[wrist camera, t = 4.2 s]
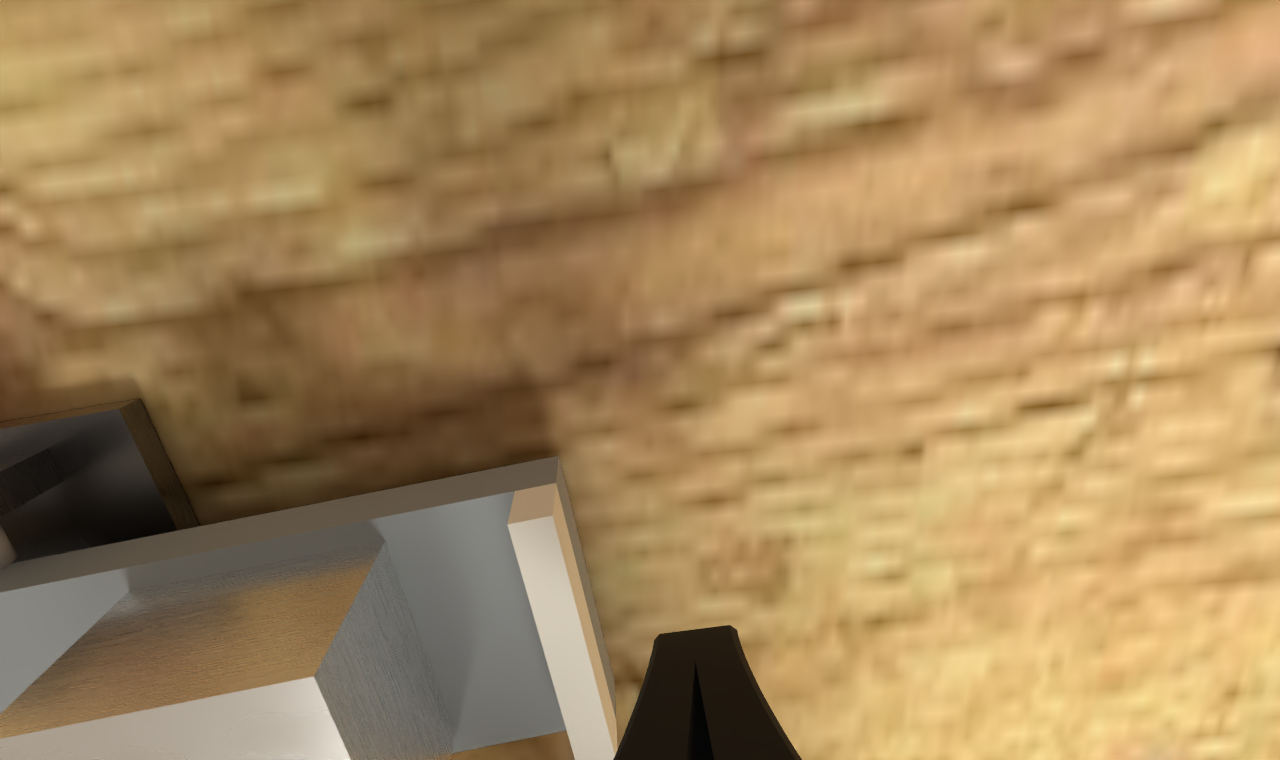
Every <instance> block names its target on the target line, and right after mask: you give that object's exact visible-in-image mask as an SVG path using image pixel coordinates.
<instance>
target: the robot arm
mask: <svg viewBox="0 0 1280 760" xmlns="http://www.w3.org/2000/svg"><path fill="white" fill-rule="evenodd" d="M613 760H802V759H801V758H800V756H799V755H798V753H797V752H796V750H795V749H794V747H793V745H792V744H791V742H790V741H789V739H788V737H787V736H786V734H785V732H784V731H783V729H782V727H781V726H780V724H779V722H778V720H777V719H776V717H775V715H774V713H773V712H772V710H771V708H770V706H769V705H768V703H767V701H766V699H765V697H764V695H763V694H762V692H761V690H760V688H759V686H758V684H757V682H756V680H755V677H754V675H753V673H752V671H751V669H750V667H749V664H748V662H747V660H746V657H745V655H744V652H743V650H742V647H741V644H740V640H739V637H738V632H737V630H736V629H735V628H733V627H732V626H730V625H727V626H719V627H711V628H703V629H695V630H688V631H680V632H672V633H664V634H660V635H659V636H658V637H657V638H656V639H655V640H654V645H653V650H652V654H651V658H650V662H649V666H648V669H647V672H646V676H645V679H644V682H643V685H642V688H641V691H640V694H639V697H638V700H637V702H636V705H635V708H634V710H633V713H632V715H631V718H630V721H629V723H628V726H627V728H626V731H625V734H624V736H623V739H622V741H621V743H620V746H619V748H618V750H617V752H616V755H615V757H614V759H613Z"/></svg>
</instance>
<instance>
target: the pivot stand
mask: <svg viewBox="0 0 1280 760" xmlns="http://www.w3.org/2000/svg"><path fill="white" fill-rule="evenodd" d="M0 525H1V527H2V529H3V530H4V532H5V534H6V536H7V537H8V539H9V541H10V542H11V544H12V546H13V547H14V549H15V551H16V553H17V554H18V557H17V559H16V560H15V561H14V562H12V563H16V562H21V561H26V560H31V559H36V558H41V557H46V556H52V555H57V554H62V553H67V552H72V551H77V550H82V549H87V548H92V547H97V546H102V545H107V544H113V543H118V542H123V541H128V540H133V539H138V538H143V537H148V536H153V535H158V534H163V533H168V532H173V531H179V530H184V529H189V528H194V527H199V526H200V525H199V523H198V521H197V519H196V517H195V515H194V512H193V510H192V508H191V506H190V504H189V502H188V500H187V498H186V495H185V493H184V491H183V489H182V487H181V485H180V483H179V481H178V478H177V476H176V474H175V472H174V470H173V468H172V466H171V464H170V461H169V459H168V457H167V455H166V453H165V451H164V449H163V446H162V444H161V442H160V440H159V438H158V436H157V434H156V432H155V429H154V427H153V425H152V423H151V421H150V419H149V417H148V415H147V412H146V410H145V408H144V406H143V404H142V402H141V400H140V398H139V399H133V400H127V401H122V402H116V403H110V404H104V405H98V406H92V407H87V408H81V409H75V410H69V411H63V412H57V413H51V414H46V415H40V416H34V417H28V418H22V419H16V420H10V421H5V422H0Z"/></svg>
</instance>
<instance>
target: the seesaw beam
mask: <svg viewBox="0 0 1280 760" xmlns="http://www.w3.org/2000/svg"><path fill="white" fill-rule="evenodd" d="M380 541H386V544H387V546H388V549H389V552H390V555H391V557H392V560H393V563H394V566H395V568H396V571H397V574H398V577H399V579H400V582H401V585H402V588H403V590H404V593H405V596H406V599H407V601H408V604H409V607H410V610H411V612H412V615H413V618H414V621H415V623H416V626H417V629H418V632H419V634H420V637H421V640H422V643H423V645H424V648H425V651H426V654H427V656H428V659H429V662H430V665H431V667H432V670H433V673H434V676H435V678H436V681H437V684H438V687H439V689H440V692H441V695H442V698H443V700H444V703H445V706H446V709H447V711H448V714H449V717H450V720H451V722H452V725H453V728H454V731H455V733H456V736H455V741H454V745H453V750H452V753H457V752H462V751H467V750H472V749H477V748H482V747H487V746H492V745H497V744H502V743H507V742H512V741H517V740H522V739H527V738H532V737H537V736H542V735H547V734H552V733H557V732H562V731H567V734H568V737H569V740H570V744H571V747H572V751H573V754H574V758H575V760H613V759H614V757H615V755H616V752H617V750H618V749H617V727H616V705H615V683H614V676H613V672H612V668H611V664H610V660H609V656H608V652H607V648H606V644H605V640H604V636H603V632H602V628H601V624H600V620H599V616H598V612H597V608H596V604H595V600H594V596H593V592H592V588H591V583H590V579H589V575H588V571H587V567H586V563H585V559H584V555H583V551H582V547H581V543H580V539H579V535H578V531H577V527H576V523H575V519H574V515H573V511H572V507H571V503H570V499H569V495H568V491H567V487H566V483H565V479H564V474H563V470H562V466H561V462H560V458H559V456H555V457H549V458H544V459H539V460H534V461H529V462H524V463H519V464H514V465H509V466H504V467H499V468H494V469H489V470H483V471H478V472H473V473H468V474H463V475H458V476H453V477H448V478H443V479H438V480H433V481H428V482H422V483H417V484H412V485H407V486H402V487H397V488H392V489H387V490H382V491H377V492H372V493H367V494H361V495H356V496H351V497H346V498H341V499H336V500H331V501H326V502H321V503H316V504H311V505H306V506H301V507H295V508H290V509H285V510H280V511H275V512H270V513H265V514H260V515H255V516H250V517H245V518H240V519H234V520H229V521H224V522H219V523H214V524H209V525H204V526H199V527H194V528H189V529H184V530H179V531H173V532H168V533H163V534H158V535H153V536H148V537H143V538H138V539H133V540H128V541H123V542H118V543H113V544H107V545H102V546H97V547H92V548H87V549H82V550H77V551H72V552H67V553H62V554H57V555H52V556H46V557H41V558H36V559H31V560H26V561H21V562H16V563H12V562H14V561H15V560H16V559H17V557H18V554H17V553H16V551H15V549H14V547H13V546H12V544H11V542H10V541H9V539H8V537H7V536H6V534H5V532H4V530H3V529H2V527H1V525H0V714H1V713H2V712H3V711H4V710H5V709H6V708H7V707H8V706H9V705H10V704H11V703H12V702H13V701H14V700H15V699H16V698H17V697H19V696H20V695H21V694H22V693H23V692H24V691H25V690H26V689H27V688H28V687H29V686H30V685H31V684H32V683H33V682H34V681H35V680H36V679H37V678H38V677H39V676H41V675H42V674H43V673H44V672H45V671H46V670H47V669H48V668H49V667H50V666H51V665H52V664H53V663H54V662H55V661H56V660H57V659H58V658H59V657H60V656H62V655H63V654H64V653H65V652H66V651H67V650H68V649H69V648H70V647H71V646H72V645H73V644H74V643H75V642H76V641H77V640H78V639H79V638H80V637H81V636H82V635H84V634H85V633H86V632H87V631H88V630H89V629H90V628H91V627H92V626H93V625H94V624H95V623H96V622H97V621H98V620H99V619H100V618H101V617H102V616H103V615H105V614H106V613H107V612H108V611H109V610H110V609H111V608H112V607H113V606H114V605H115V604H116V603H117V602H118V601H119V600H120V599H121V598H122V597H123V596H124V595H125V594H127V593H128V592H129V591H132V590H137V589H142V588H147V587H152V586H158V585H163V584H168V583H173V582H178V581H183V580H188V579H193V578H198V577H203V576H208V575H213V574H218V573H223V572H228V571H234V570H239V569H244V568H249V567H254V566H259V565H264V564H269V563H274V562H279V561H284V560H289V559H294V558H299V557H304V556H310V555H315V554H320V553H325V552H330V551H335V550H340V549H345V548H350V547H355V546H360V545H365V544H370V543H375V542H380Z"/></svg>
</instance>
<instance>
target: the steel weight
mask: <svg viewBox="0 0 1280 760" xmlns="http://www.w3.org/2000/svg"><path fill="white" fill-rule="evenodd" d="M455 736H456V733H455V731H454V728H453V725H452V722H451V720H450V717H449V714H448V711H447V709H446V706H445V703H444V700H443V698H442V695H441V692H440V689H439V687H438V684H437V681H436V678H435V676H434V673H433V670H432V667H431V665H430V662H429V659H428V656H427V654H426V651H425V648H424V645H423V643H422V640H421V637H420V634H419V632H418V629H417V626H416V623H415V621H414V618H413V615H412V612H411V610H410V607H409V604H408V601H407V599H406V596H405V593H404V590H403V588H402V585H401V582H400V579H399V577H398V574H397V571H396V568H395V566H394V563H393V560H392V557H391V555H390V552H389V549H388V546H387V544H386V541H380V542H375V543H370V544H365V545H360V546H355V547H350V548H345V549H340V550H335V551H330V552H325V553H320V554H315V555H310V556H304V557H299V558H294V559H289V560H284V561H279V562H274V563H269V564H264V565H259V566H254V567H249V568H244V569H239V570H234V571H228V572H223V573H218V574H213V575H208V576H203V577H198V578H193V579H188V580H183V581H178V582H173V583H168V584H163V585H158V586H152V587H147V588H142V589H137V590H132V591H129V592H128V593H127V594H125V595H124V596H123V597H122V598H121V599H120V600H119V601H118V602H117V603H116V604H115V605H114V606H113V607H112V608H111V609H110V610H109V611H108V612H107V613H106V614H105V615H103V616H102V617H101V618H100V619H99V620H98V621H97V622H96V623H95V624H94V625H93V626H92V627H91V628H90V629H89V630H88V631H87V632H86V633H85V634H84V635H82V636H81V637H80V638H79V639H78V640H77V641H76V642H75V643H74V644H73V645H72V646H71V647H70V648H69V649H68V650H67V651H66V652H65V653H64V654H63V655H62V656H60V657H59V658H58V659H57V660H56V661H55V662H54V663H53V664H52V665H51V666H50V667H49V668H48V669H47V670H46V671H45V672H44V673H43V674H42V675H41V676H39V677H38V678H37V679H36V680H35V681H34V682H33V683H32V684H31V685H30V686H29V687H28V688H27V689H26V690H25V691H24V692H23V693H22V694H21V695H20V696H19V697H17V698H16V699H15V700H14V701H13V702H12V703H11V704H10V705H9V706H8V707H7V708H6V709H5V710H4V711H3V712H2V713H1V714H0V760H450V758H451V754H452V750H453V745H454V741H455Z"/></svg>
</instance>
